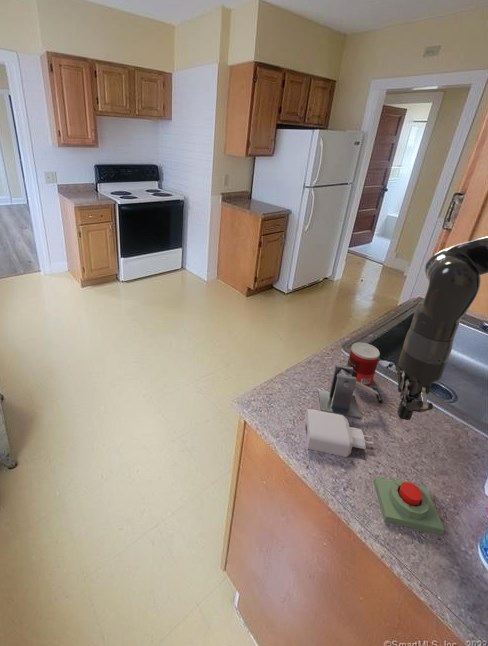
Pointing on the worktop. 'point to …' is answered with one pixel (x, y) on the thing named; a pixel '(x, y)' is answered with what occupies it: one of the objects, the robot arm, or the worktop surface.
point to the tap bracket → (340, 395)
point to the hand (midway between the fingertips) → (403, 416)
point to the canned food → (363, 362)
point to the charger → (332, 433)
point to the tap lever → (365, 387)
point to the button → (410, 493)
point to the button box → (407, 507)
